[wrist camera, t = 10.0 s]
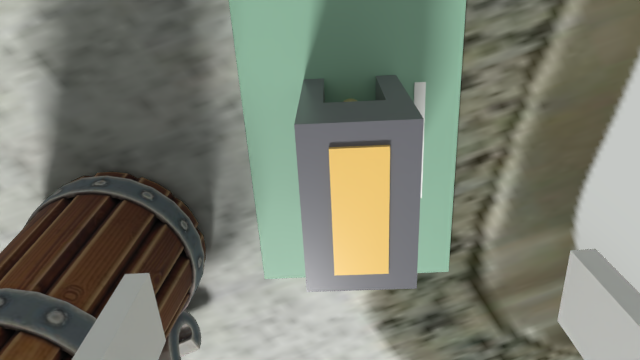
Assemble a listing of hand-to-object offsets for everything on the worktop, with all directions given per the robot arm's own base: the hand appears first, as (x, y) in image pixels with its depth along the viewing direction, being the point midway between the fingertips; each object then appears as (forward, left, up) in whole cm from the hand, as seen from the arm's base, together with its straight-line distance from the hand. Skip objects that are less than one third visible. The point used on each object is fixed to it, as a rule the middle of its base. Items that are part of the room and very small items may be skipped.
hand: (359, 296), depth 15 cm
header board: (0, 0, -14) cm, 14 cm away
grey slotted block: (0, 0, -13) cm, 13 cm away
